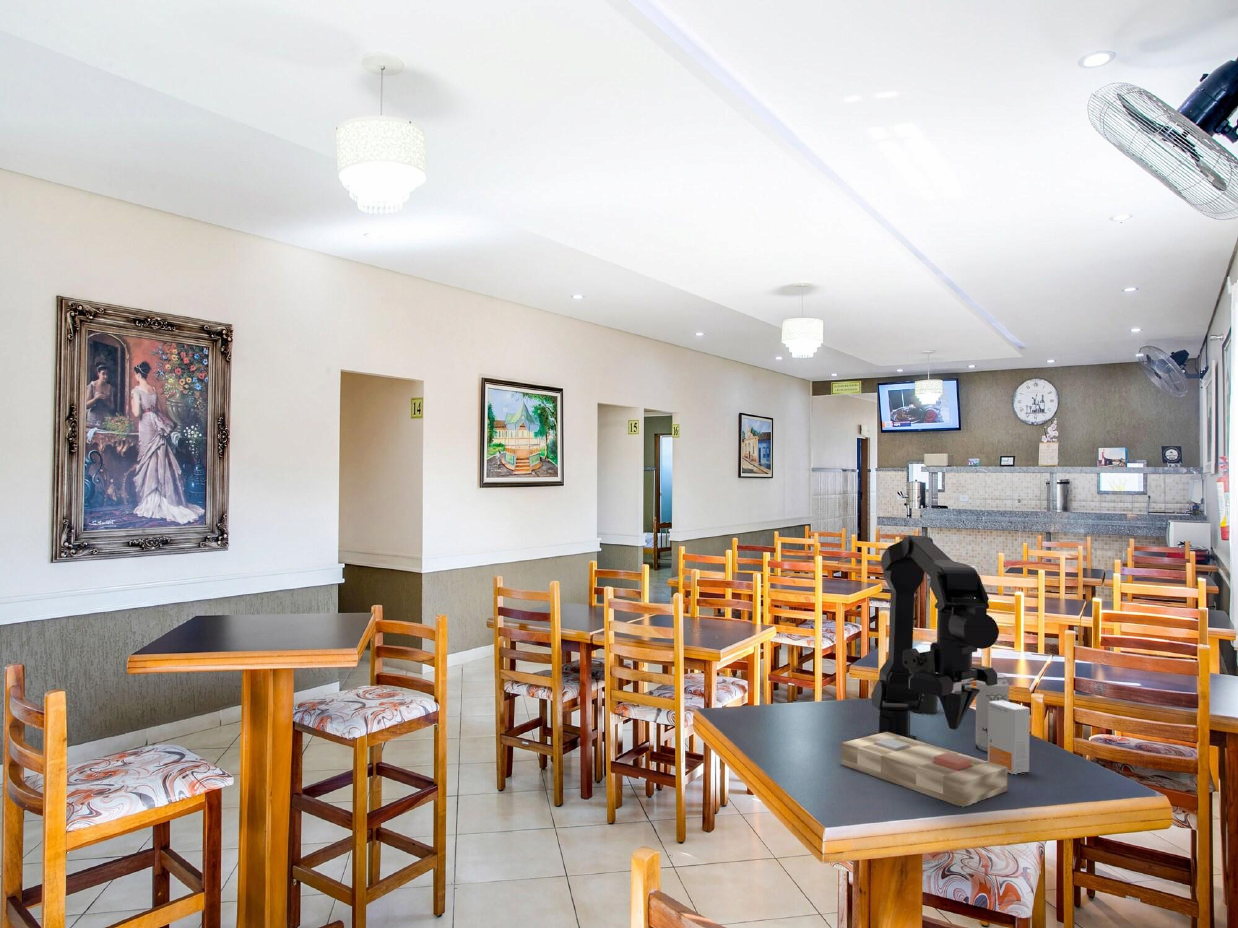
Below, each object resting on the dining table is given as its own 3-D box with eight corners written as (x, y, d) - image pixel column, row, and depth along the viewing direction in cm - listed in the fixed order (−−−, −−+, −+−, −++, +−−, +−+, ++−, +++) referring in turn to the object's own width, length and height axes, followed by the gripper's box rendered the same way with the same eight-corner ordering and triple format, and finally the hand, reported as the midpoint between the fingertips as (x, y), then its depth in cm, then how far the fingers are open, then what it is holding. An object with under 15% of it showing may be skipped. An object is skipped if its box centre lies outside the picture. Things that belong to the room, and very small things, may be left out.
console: (886, 752, 155) (886, 731, 155) (1007, 790, 136) (1007, 767, 136) (841, 764, 147) (841, 742, 147) (962, 807, 127) (963, 782, 128)
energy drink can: (984, 753, 156) (985, 677, 157) (969, 744, 162) (971, 670, 163) (1014, 754, 156) (1015, 678, 157) (998, 745, 162) (999, 671, 163)
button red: (947, 772, 140) (947, 752, 140) (971, 779, 136) (971, 759, 136) (933, 776, 137) (933, 756, 137) (957, 784, 133) (957, 763, 134)
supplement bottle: (910, 713, 186) (911, 661, 186) (905, 706, 192) (905, 656, 193) (941, 715, 184) (942, 663, 185) (934, 708, 191) (935, 658, 192)
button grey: (888, 756, 149) (889, 737, 149) (909, 763, 146) (909, 744, 146) (874, 760, 147) (874, 741, 147) (895, 767, 143) (895, 747, 143)
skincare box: (986, 764, 150) (987, 701, 150) (1002, 762, 151) (1003, 699, 152) (1013, 775, 144) (1014, 709, 145) (1030, 772, 146) (1030, 707, 146)
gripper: (941, 628, 149) (940, 711, 149) (882, 635, 138) (880, 724, 138) (999, 637, 141) (998, 725, 140) (940, 645, 129) (939, 741, 129)
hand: (953, 728), depth 137 cm, fingers closed
